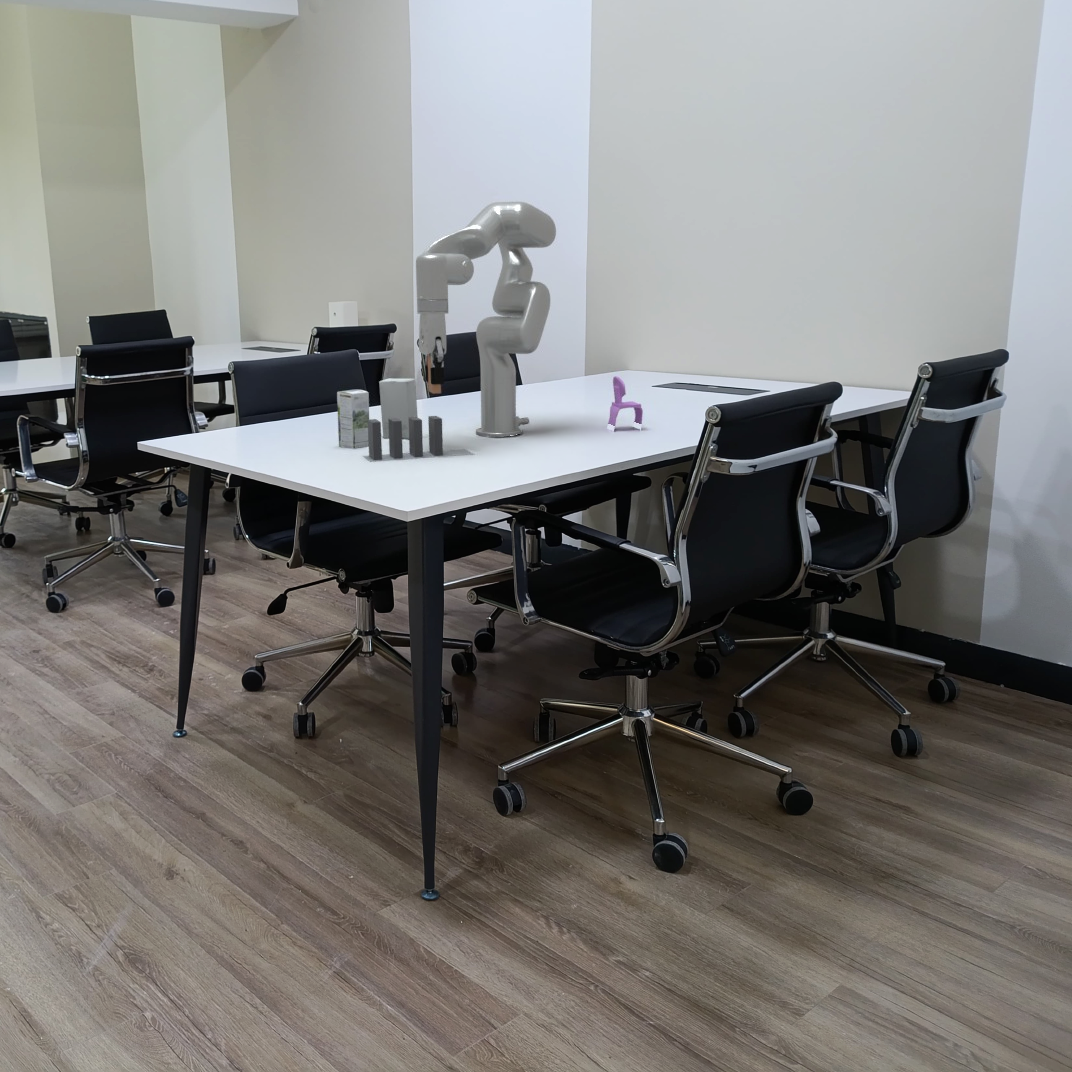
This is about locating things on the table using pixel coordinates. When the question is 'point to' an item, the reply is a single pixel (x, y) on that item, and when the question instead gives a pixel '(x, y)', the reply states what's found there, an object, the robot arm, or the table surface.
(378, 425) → the domino
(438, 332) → the robot arm
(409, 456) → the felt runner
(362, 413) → the syrup box
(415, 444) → the domino
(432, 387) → the domino
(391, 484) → the table surface
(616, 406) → the toy chair
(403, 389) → the skincare box
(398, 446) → the domino
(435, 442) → the domino
